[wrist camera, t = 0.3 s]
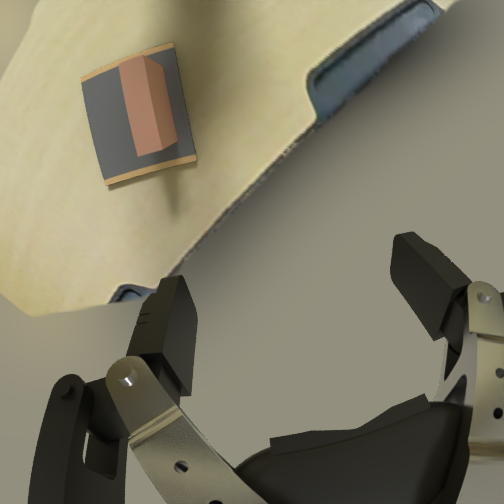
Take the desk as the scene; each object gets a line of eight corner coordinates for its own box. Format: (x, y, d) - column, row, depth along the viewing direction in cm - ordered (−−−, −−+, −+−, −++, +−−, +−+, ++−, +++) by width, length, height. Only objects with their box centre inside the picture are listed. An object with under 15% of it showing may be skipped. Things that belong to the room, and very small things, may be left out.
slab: (142, 72, 26) (118, 63, 19) (162, 66, 25) (142, 54, 18) (158, 146, 30) (137, 156, 23) (178, 140, 30) (162, 149, 23)
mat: (82, 77, 25) (80, 77, 24) (173, 43, 24) (172, 42, 24) (107, 184, 33) (105, 185, 32) (197, 159, 32) (196, 160, 32)
